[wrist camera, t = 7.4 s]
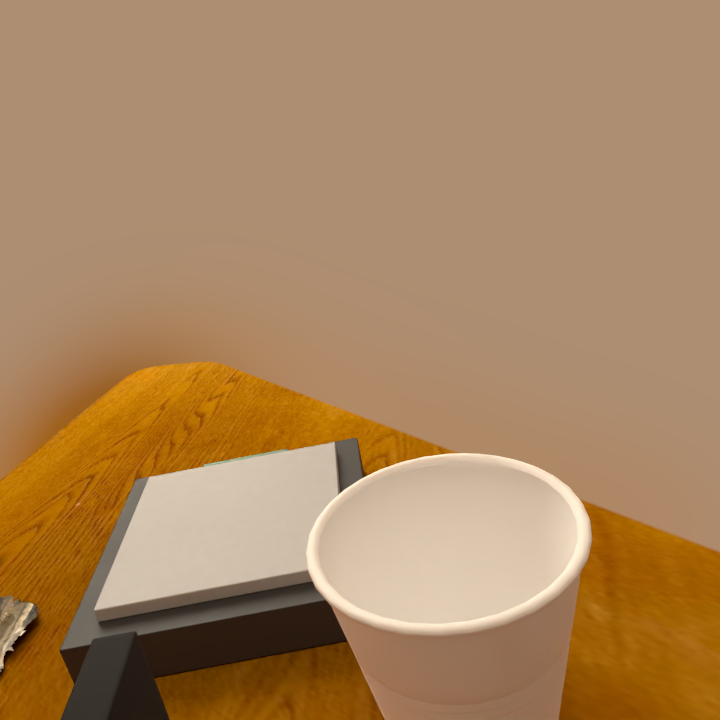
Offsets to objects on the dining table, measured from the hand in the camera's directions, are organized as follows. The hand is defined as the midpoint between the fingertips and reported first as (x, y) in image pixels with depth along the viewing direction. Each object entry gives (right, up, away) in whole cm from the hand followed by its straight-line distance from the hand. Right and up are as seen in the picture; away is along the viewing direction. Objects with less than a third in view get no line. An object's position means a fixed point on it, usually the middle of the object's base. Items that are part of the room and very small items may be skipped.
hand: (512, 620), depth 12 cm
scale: (-10, -8, +30) cm, 32 cm away
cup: (+2, -11, +16) cm, 20 cm away
